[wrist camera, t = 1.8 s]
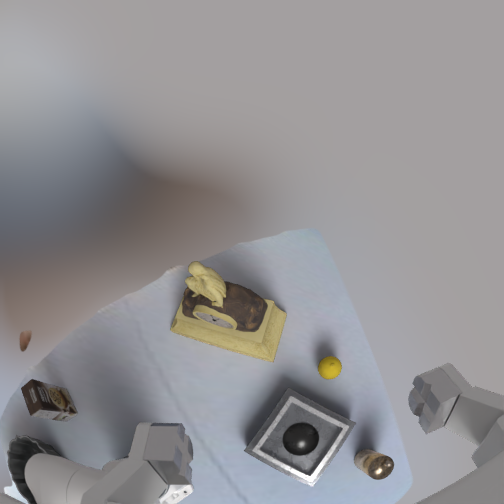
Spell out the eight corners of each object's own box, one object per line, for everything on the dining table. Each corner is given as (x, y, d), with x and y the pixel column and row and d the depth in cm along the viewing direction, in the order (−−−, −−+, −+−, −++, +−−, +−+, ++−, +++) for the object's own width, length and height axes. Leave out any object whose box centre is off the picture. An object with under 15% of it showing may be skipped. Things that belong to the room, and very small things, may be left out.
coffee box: (78, 413, 63) (42, 408, 49) (66, 422, 62) (30, 417, 48) (67, 388, 67) (31, 378, 54) (55, 396, 66) (20, 387, 52)
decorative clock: (172, 332, 75) (119, 286, 50) (189, 290, 81) (147, 230, 56) (273, 362, 69) (267, 331, 43) (286, 315, 75) (287, 259, 49)
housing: (310, 481, 51) (313, 489, 44) (247, 447, 58) (242, 452, 50) (350, 421, 58) (358, 423, 51) (287, 389, 65) (288, 386, 57)
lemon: (320, 383, 64) (324, 380, 58) (313, 363, 67) (317, 358, 60) (341, 376, 65) (348, 371, 58) (334, 356, 68) (339, 349, 61)
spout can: (367, 471, 50) (389, 485, 37) (349, 464, 52) (367, 477, 39) (379, 453, 52) (403, 462, 39) (361, 445, 54) (382, 453, 41)
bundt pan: (62, 521, 42) (43, 525, 33) (18, 461, 52) (-2, 460, 43) (95, 485, 51) (75, 489, 43) (45, 421, 61) (24, 418, 53)
